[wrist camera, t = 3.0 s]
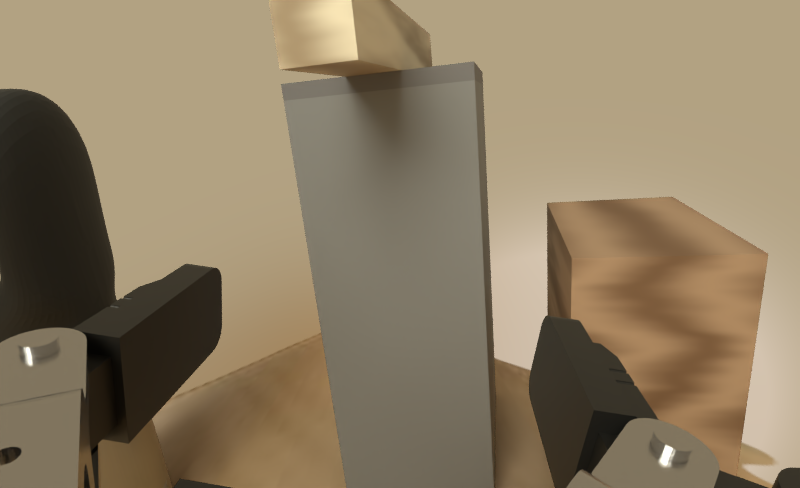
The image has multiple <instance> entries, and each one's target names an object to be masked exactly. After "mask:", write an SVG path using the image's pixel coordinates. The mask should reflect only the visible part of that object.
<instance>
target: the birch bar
mask: <svg viewBox="0 0 800 488" xmlns="http://www.w3.org/2000/svg"><path fill="white" fill-rule="evenodd" d="M269 5H270V11H271V17H272V23H273V29H274V36H275V42H276V48H277V55H278V60H279V67H280V70H289V71H298V72H307V73H317V74H325V75H335V76H343V77H347V76H356V75H364V74H373V73H381V72H390V71H398V70H407V69H415V68H424V67H432V57H431V43H430V34H429V33H428V32H426V31H425V30H424V29H423V28H422V27H421V26H419V25H418V24H417V23H416V22H415V21H414V20H413V19H411V18H410V17H409V16H408V15H407V14H406V13H404V12H403V11H402V10H401V9H400V8H399V7H397V6H396V5H395V4H394V3H393V2H392V1H390V0H269Z"/></svg>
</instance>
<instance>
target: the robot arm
mask: <svg viewBox="0 0 800 488" xmlns="http://www.w3.org/2000/svg"><path fill="white" fill-rule="evenodd" d="M0 274H1V281H0V488H173V487H172V484H171V481H170V477H169V474H168V471H167V467H166V464H165V461H164V457H163V454H162V450H161V446H160V443H159V440H158V436H157V433H156V430H155V426H154V423H153V420H152V418H153V417H154V416H155V414H156V413H157V412H158V411H159V410H160V409H161V408H162V407H163V406H164V405H165V403H166V402H167V401H168V400H169V399H170V398H171V397H172V396H173V395H174V394H175V392H176V391H177V390H178V389H179V388H180V387H181V385H182V384H184V382H185V381H186V380H187V379H188V378H189V377H190V376H191V375H192V374H193V372H194V371H195V370H196V369H197V368H198V367H199V366H200V365H201V364H202V363H203V362H204V360H205V359H206V358H207V357H208V356H209V355H210V354H211V353H212V352H213V350H214V349H215V347H216V346H217V344H218V341H219V338H220V334H221V329H222V292H221V291H222V287H221V284H222V281H221V274H220V271H219V270H218V269H217V268H212V267H205V266H198V265H192V264H185V265H183V266H181V267H180V268H178V269H177V270H175V271H174V272H172V273H171V274H169V275H167V276H166V277H164V278H163V279H161V280H158V281H155V282H152V283H149V284H146V285H143V286H140V287H138V288H137V289H135V290H133V291H132V292H130V293H129V294H127V295H125V296H124V298H123V299H119V300H116V296H115V288H114V287H115V286H114V285H115V284H114V281H115V280H114V279H115V277H114V276H115V271H114V260H113V254H112V250H111V246H110V242H109V238H108V234H107V230H106V225H105V221H104V217H103V212H102V208H101V203H100V198H99V193H98V189H97V185H96V180H95V176H94V172H93V168H92V165H91V161H90V158H89V155H88V152H87V149H86V147H85V145H84V142H83V140H82V138H81V136H80V134H79V132H78V130H77V128H76V127H75V126H74V124H73V123H72V121H71V120H70V118H69V117H68V116H67V114H66V113H65V112H64V111H63V110H62V109H61V108H60V107H58V105H57V104H55V103H54V102H53V101H51V100H49V99H48V98H46V97H45V96H43V95H41V94H38V93H35V92H32V91H28V90H22V89H0ZM529 395H530V400H531V404H532V407H533V411H534V414H535V418H536V421H537V425H538V429H539V432H540V436H541V439H542V443H543V447H544V450H545V454H546V457H547V461H548V464H549V468H550V472H551V475H552V479H553V482H554V486H555V488H767V487H765V486H762V485H759V484H756V483H754V482H751V481H748V480H745V479H742V478H740V477H737V476H734V475H731V474H729V473H726V472H723V471H721V470H719V469H720V467H719V462H718V460H717V458H716V457H715V455H714V454H713V452H712V451H711V450H710V449H709V448H708V447H707V446H706V445H705V444H704V443H703V442H702V441H700V440H699V439H698V438H696V437H695V436H693V435H692V434H690V433H689V432H687V431H685V430H683V429H681V428H679V427H677V426H675V425H673V424H670V423H667V422H664V421H660V420H659V419H658V418H657V416H656V415H655V413H654V412H653V410H652V409H651V407H650V406H649V404H648V403H647V401H646V400H645V398H644V397H643V395H642V393H641V392H640V390H639V389H638V387H637V386H634V381H633V380H632V378H631V377H630V375H629V374H627V371H626V369H625V368H624V366H623V365H622V363H621V362H620V360H619V359H618V357H617V356H616V355H614V354H613V353H612V352H611V351H609V350H608V349H607V348H605V347H604V346H603V345H602V344H600V343H593V342H592V340H591V338H590V337H589V335H588V333H587V332H586V330H585V328H584V327H583V325H582V323H581V322H580V321H579V320H575V319H568V318H561V317H554V316H546V317H545V318H544V320H543V323H542V326H541V330H540V334H539V339H538V343H537V347H536V351H535V356H534V360H533V364H532V368H531V373H530V380H529ZM174 488H231V487H225V486H219V485H213V484H208V483H202V482H196V481H190V480H184V479H180V480H179V481H178V482H177V484H176V485H175V487H174ZM772 488H800V468H786V469H784V470H782V471H781V472H780V473H779V474H778V476H777V478H776V480H775V483H774V485H773V487H772Z"/></svg>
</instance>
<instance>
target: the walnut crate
mask: <svg viewBox="0 0 800 488" xmlns="http://www.w3.org/2000/svg"><path fill="white" fill-rule="evenodd" d="M547 231H548V232H547V234H548V235H547V240H548V241H547V242H548V243H547V252H548V253H547V255H548V257H547V263H548V265H547V266H548V316H554V317H561V318H568V319H575V320H579V321H580V322H581V323H582V325H583V327H584V328H585V330H586V332H587V333H588V335H589V337H590V338H591V340H592V342H593V343H600V344H602V345H603V346H604V347H605V348H607V349H608V350H609V351H611V352H612V353H613V354H614V355H616V356H617V357H618V359H619V360H620V362H621V363H622V365H623V366H624V368H625V369H626V371H627V374H629V375H630V377H631V378H632V380H633V381H634V386H637V387H638V389H639V390H640V392H641V393H642V395H643V397H644V398H645V400H646V401H647V403H648V404H649V406H650V407H651V409H652V410H653V412H654V413H655V415H656V416H657V418H658V419H659V420H660V421H664V422H667V423H670V424H673V425H675V426H677V427H679V428H681V429H683V430H685V431H687V432H689V433H690V434H692V435H693V436H695V437H696V438H698V439H699V440H700V441H702V442H703V443H704V444H705V445H706V446H707V447H708V448H709V449H710V450H711V451H712V452H713V454H714V455H715V457H716V458H717V460H718V462H719V467H720V469H719V470H721V471H723V472H726V473H729V474H731V475H734V476H737V469H738V462H739V455H740V448H741V440H742V434H743V427H744V420H745V413H746V406H747V398H748V391H749V385H750V378H751V371H752V364H753V357H754V350H755V343H756V335H757V329H758V322H759V315H760V308H761V300H762V294H763V287H764V280H765V273H766V266H767V259H768V254H767V253H766V252H764V251H763V250H761V249H759V248H757V247H756V246H754V245H752V244H751V243H749V242H747V241H745V240H744V239H742V238H741V237H739V236H737V235H736V234H734V233H732V232H731V231H729V230H727V229H726V228H724V227H722V226H721V225H719V224H717V223H715V222H714V221H712V220H710V219H709V218H707V217H705V216H704V215H702V214H700V213H699V212H697V211H695V210H694V209H692V208H690V207H688V206H687V205H685V204H684V203H682V202H680V201H679V200H677V199H675V198H673V197H659V198H638V199H618V200H599V201H598V200H597V201H577V202H557V203H547Z"/></svg>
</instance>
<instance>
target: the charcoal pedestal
mask: <svg viewBox="0 0 800 488" xmlns="http://www.w3.org/2000/svg"><path fill="white" fill-rule="evenodd" d="M281 86H282V93H283V98H284V104H285V111H286V117H287V123H288V130H289V136H290V142H291V148H292V154H293V160H294V167H295V173H296V179H297V185H298V191H299V197H300V204H301V210H302V216H303V222H304V228H305V234H306V241H307V246H308V253H309V259H310V265H311V271H312V277H313V284H314V290H315V296H316V302H317V308H318V315H319V320H320V327H321V333H322V339H323V346H324V352H325V358H326V364H327V370H328V376H329V383H330V389H331V395H332V401H333V407H334V413H335V420H336V426H337V432H338V438H339V444H340V450H341V457H342V463H343V469H344V475H345V481H346V487H347V488H495V409H496V390H495V366H494V342H493V318H492V294H491V270H490V246H489V225H488V224H489V223H488V199H487V176H486V175H487V174H486V152H485V151H486V150H485V127H484V103H483V79H482V71H481V70H480V69H479V68H478V66H477V65H476V64H475V63H474V62H467V63H458V64H450V65H441V66H433V67H424V68H415V69H407V70H398V71H390V72H381V73H373V74H364V75H356V76H347V77H339V78H330V79H321V80H313V81H305V82H296V83H287V84H281Z"/></svg>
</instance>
